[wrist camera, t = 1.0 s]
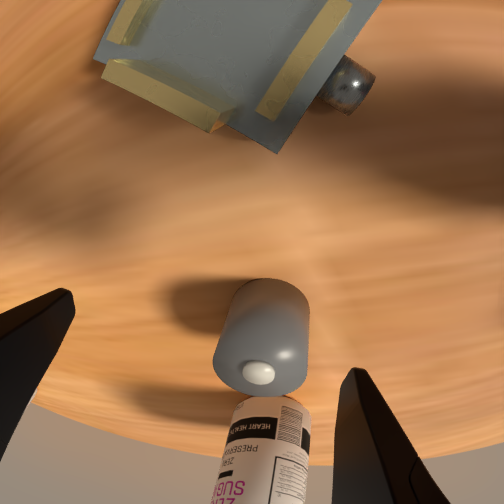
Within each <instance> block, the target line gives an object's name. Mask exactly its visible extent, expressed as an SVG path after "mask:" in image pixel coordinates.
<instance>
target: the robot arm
mask: <svg viewBox="0 0 504 504" xmlns="http://www.w3.org/2000/svg"><path fill="white" fill-rule="evenodd" d="M74 316H75V305H74V300H73V295H72V292H71V291H69V290H67V289H64V288H58V289H56V290H53V291H51V292H49V293H46V294H44V295H42V296H40V297H37V298H35V299H33V300H30V301H28V302H26V303H24V304H21V305H19V306H17V307H15V308H12V309H10V310H8V311H6V312H4V313H1V314H0V461H1V459H2V456H3V454H4V452H5V450H6V448H7V445H8V443H9V441H10V439H11V437H12V435H13V433H14V430H15V429H16V427H17V425H18V422H19V421H20V419H21V416H22V415H23V413H24V411H25V409H26V407H27V405H28V403H29V401H30V399H31V397H32V396H33V394H34V392H35V390H36V388H37V386H38V385H39V383H40V381H41V379H42V378H43V376H44V374H45V372H46V371H47V369H48V367H49V365H50V364H51V362H52V360H53V359H54V357H55V355H56V353H57V351H58V349H59V347H60V345H61V343H62V341H63V339H64V337H65V335H66V333H67V330H68V328H69V326H70V324H71V322H72V320H73V318H74ZM332 504H450V502H449V501H448V499H447V498H446V497H445V495H444V494H443V493H442V491H441V490H440V488H439V487H438V486H437V484H436V483H435V481H434V480H433V478H432V477H431V475H430V474H429V472H428V471H427V469H426V467H425V466H424V464H423V462H422V461H421V459H420V457H418V454H417V452H416V451H415V449H414V447H413V446H412V444H411V442H410V441H409V439H408V437H407V436H406V434H405V432H404V431H403V429H402V427H401V426H400V424H399V422H398V421H397V419H396V417H395V416H394V414H393V413H392V411H391V409H390V408H389V406H388V404H387V403H386V401H385V400H384V398H383V396H382V395H381V393H380V392H379V390H378V388H377V387H376V385H375V383H374V382H373V380H372V379H371V377H370V376H369V374H368V372H367V371H366V370H365V369H362V368H356V367H353V368H352V369H351V370H350V371H349V373H348V374H347V376H346V378H345V379H344V381H343V382H342V384H341V388H340V395H339V403H338V411H337V418H336V426H335V437H334V468H333V490H332Z"/></svg>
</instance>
